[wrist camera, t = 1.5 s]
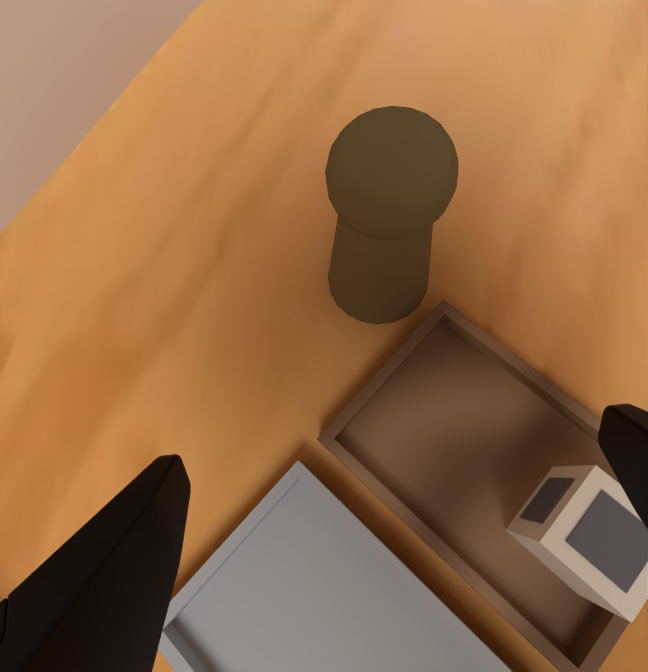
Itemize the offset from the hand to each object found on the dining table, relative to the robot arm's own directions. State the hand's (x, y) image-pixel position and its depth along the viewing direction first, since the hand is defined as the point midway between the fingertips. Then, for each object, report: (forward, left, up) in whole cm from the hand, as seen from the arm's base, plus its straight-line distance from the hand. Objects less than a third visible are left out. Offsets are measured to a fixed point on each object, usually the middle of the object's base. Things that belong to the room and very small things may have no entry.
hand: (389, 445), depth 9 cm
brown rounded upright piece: (+7, -9, -14) cm, 18 cm away
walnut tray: (-5, -4, -14) cm, 16 cm away
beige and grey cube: (-9, -4, -14) cm, 17 cm away
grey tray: (-5, +7, -14) cm, 17 cm away
